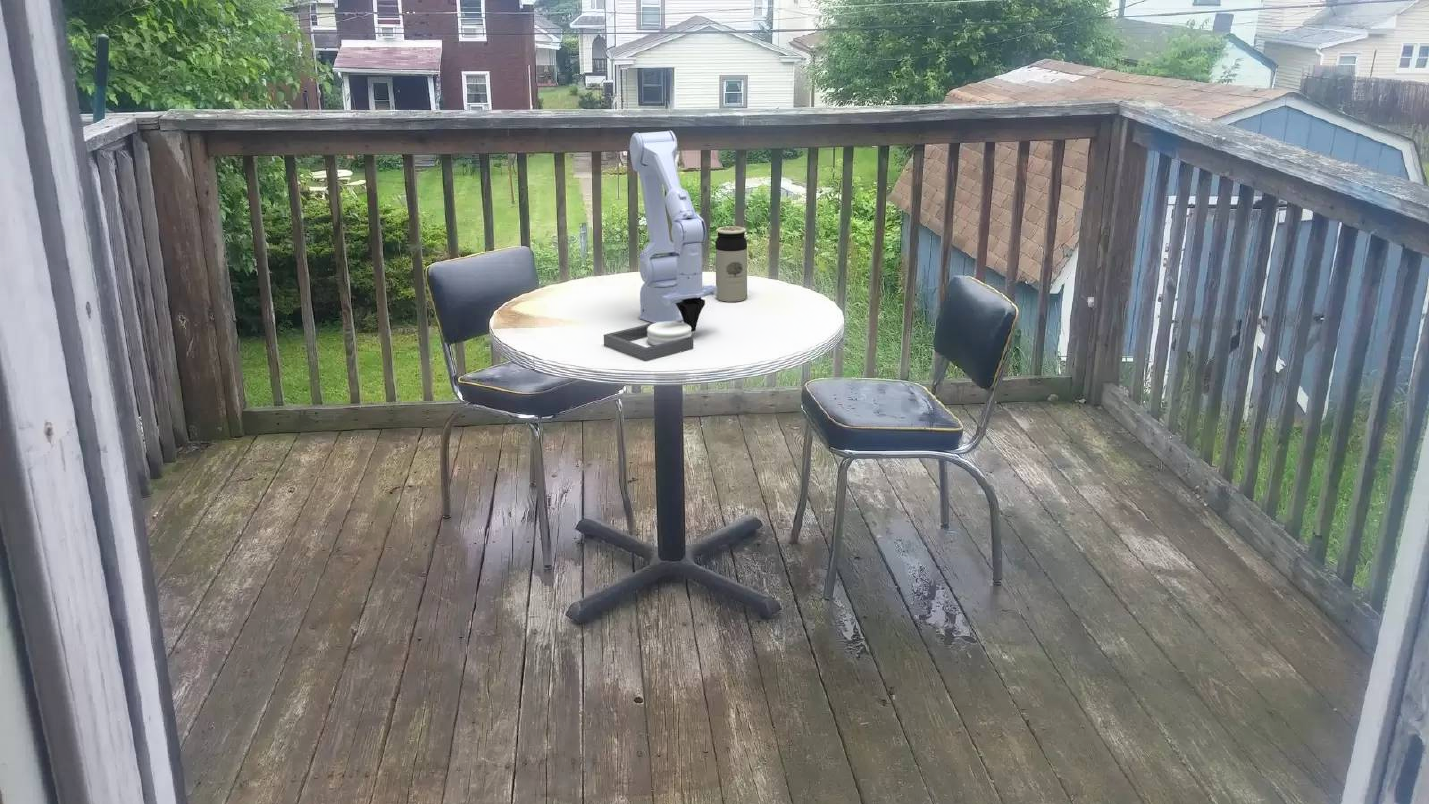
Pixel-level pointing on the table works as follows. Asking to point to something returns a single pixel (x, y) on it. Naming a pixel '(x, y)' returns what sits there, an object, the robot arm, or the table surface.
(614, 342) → the frame
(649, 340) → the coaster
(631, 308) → the table surface
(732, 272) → the travel mug
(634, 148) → the robot arm
